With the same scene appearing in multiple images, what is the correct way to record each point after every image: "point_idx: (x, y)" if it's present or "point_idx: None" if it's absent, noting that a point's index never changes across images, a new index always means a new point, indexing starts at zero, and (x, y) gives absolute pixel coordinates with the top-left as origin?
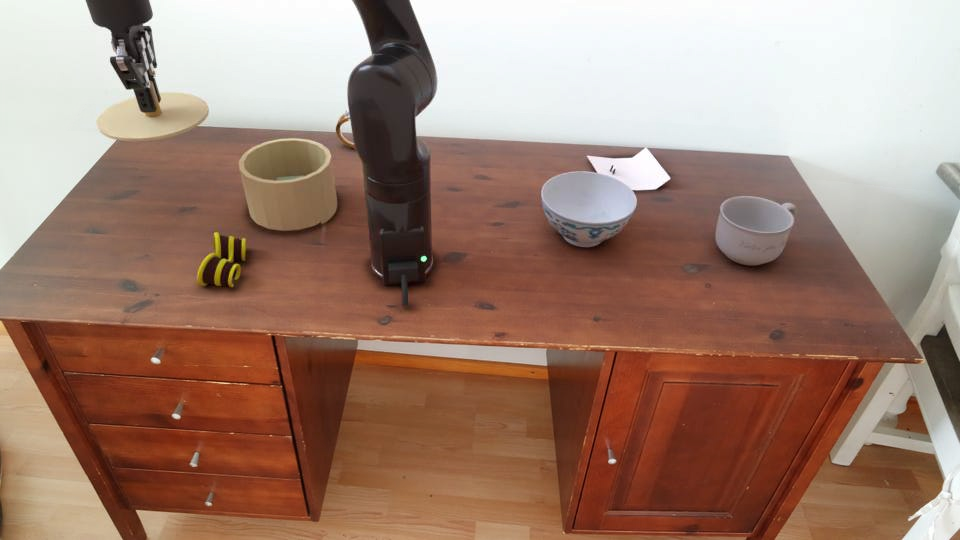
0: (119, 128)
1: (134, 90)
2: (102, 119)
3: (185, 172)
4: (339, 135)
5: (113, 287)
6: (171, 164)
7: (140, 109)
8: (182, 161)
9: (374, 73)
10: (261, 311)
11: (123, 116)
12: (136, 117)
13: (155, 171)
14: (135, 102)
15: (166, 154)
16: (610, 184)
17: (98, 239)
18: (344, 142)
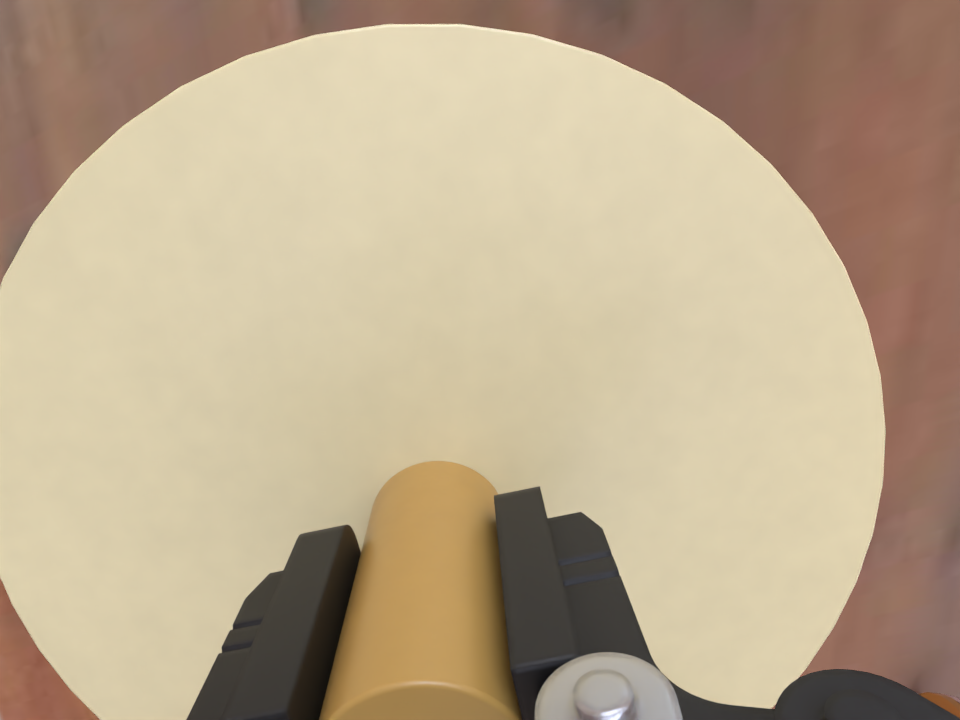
0: (121, 365)
1: (226, 712)
2: (260, 114)
3: (778, 171)
4: (948, 710)
5: (12, 219)
6: (853, 78)
7: (301, 542)
8: (876, 120)
9: None
10: (36, 656)
11: (355, 293)
12: (355, 412)
13: (795, 27)
14: (673, 266)
15: (953, 13)
16: None
17: (261, 18)
18: (927, 697)
